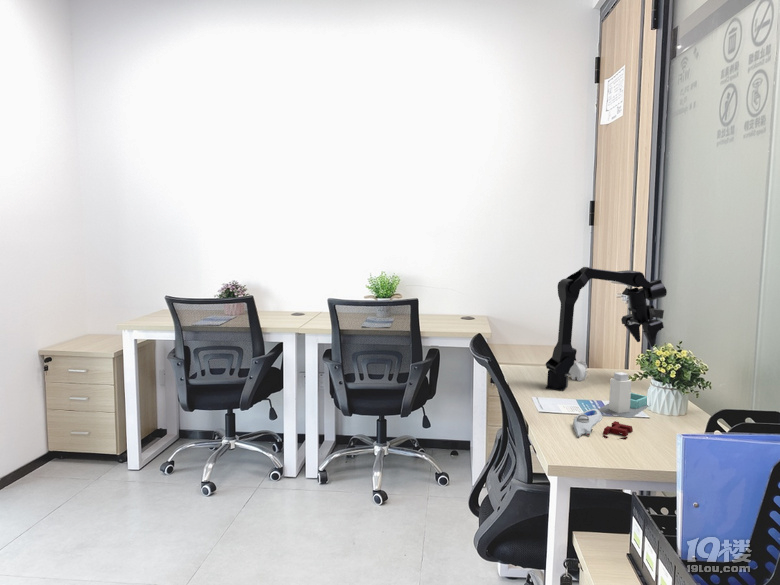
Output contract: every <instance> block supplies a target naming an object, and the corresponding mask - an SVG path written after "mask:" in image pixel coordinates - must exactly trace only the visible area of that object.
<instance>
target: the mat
mask: <svg viewBox="0 0 780 585" xmlns="http://www.w3.org/2000/svg"><path fill="white" fill-rule="evenodd" d="M649 407H650V406H648V405H645V406H643V407H640V408H637V409H635V408H631V407H630V412H625V413H617V412H614V411H612V410H610V409H609V403H607V404H604V405H603V406H602V407H599V408H598V409H597V410H599V411H600V413H603V414H607V415H608V414H609V415H613V416H617V417H622V418H627V419H632V418H633V417H636V416H637V415H638V414H640V413H641V412H644V410H645V409H648V408H649Z"/></svg>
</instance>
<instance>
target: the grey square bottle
mask: <svg viewBox="0 0 780 585" xmlns="http://www.w3.org/2000/svg"><path fill="white" fill-rule="evenodd" d="M609 381H610V383H609V384H610V385H609V402H608V404H609V409H610V410H612V411H614V412H617V413H625V412H630V398H631V393H632V380H630V379H629V373H626V372H622V371H621V372H614V373H613V378H610V380H609Z"/></svg>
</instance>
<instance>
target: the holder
mask: <svg viewBox="0 0 780 585" xmlns="http://www.w3.org/2000/svg"><path fill="white" fill-rule="evenodd" d="M645 405H647V395H643V394H639V393H634V392H631V398H630V407H631V408H635V409H637V408H640V407H643V406H645Z"/></svg>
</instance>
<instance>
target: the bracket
mask: <svg viewBox="0 0 780 585" xmlns="http://www.w3.org/2000/svg"><path fill="white" fill-rule="evenodd" d="M632 432H634V431H633V426H632V425H629V424H625V423H624V424H623V423H620V422H619V421H615V420H614V421H613V422H611V426H609V425H607V426H606V427H604V428H603V432H602V438H603V437H604V439H608V438H609V436H608V435H609V434H614V435H620V434H621V436H622V437H618V439H620V440H624V441H625V440H627V439H628V436H629V434H632Z"/></svg>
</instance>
